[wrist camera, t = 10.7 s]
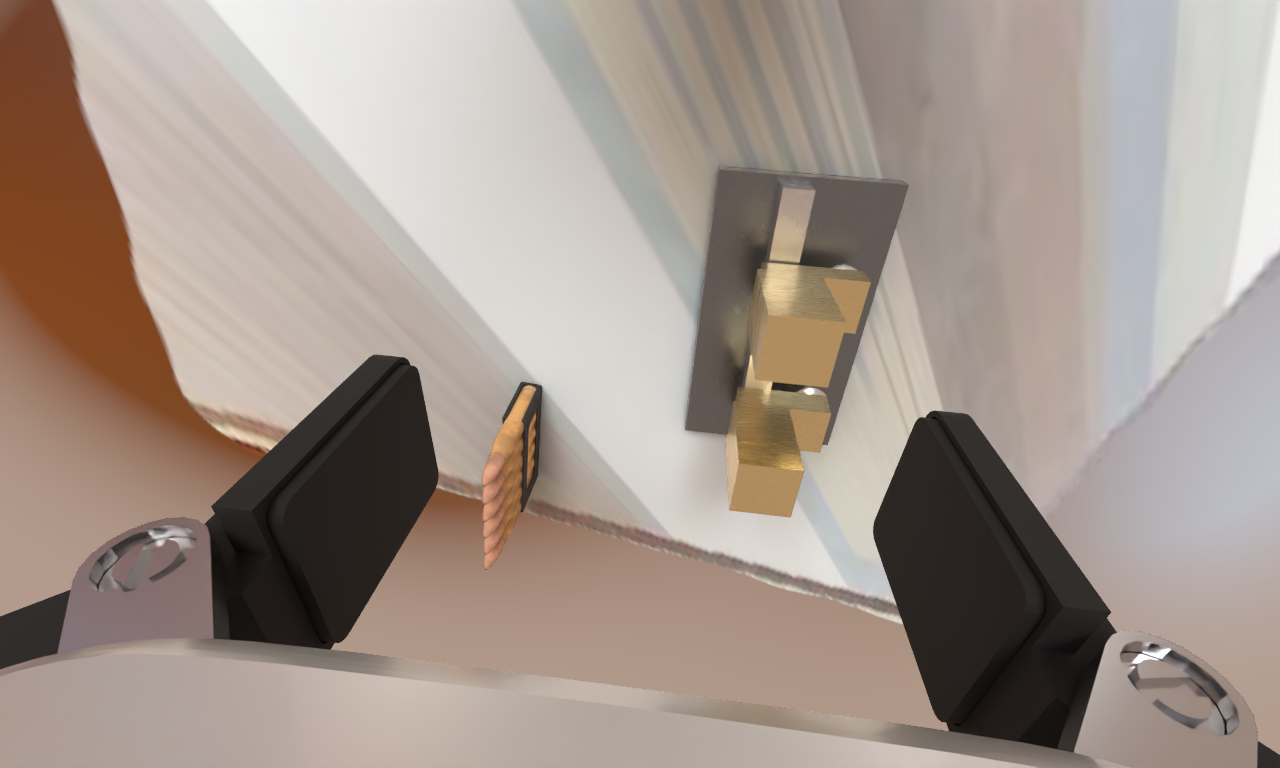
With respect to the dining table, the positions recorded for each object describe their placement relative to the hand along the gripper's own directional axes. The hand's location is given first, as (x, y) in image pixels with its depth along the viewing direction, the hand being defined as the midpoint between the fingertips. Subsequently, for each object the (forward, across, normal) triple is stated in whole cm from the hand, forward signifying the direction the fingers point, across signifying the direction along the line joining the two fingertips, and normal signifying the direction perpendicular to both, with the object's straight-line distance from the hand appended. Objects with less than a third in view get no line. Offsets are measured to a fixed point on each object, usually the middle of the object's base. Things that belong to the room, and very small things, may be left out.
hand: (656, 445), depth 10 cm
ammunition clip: (+30, +12, +24) cm, 40 cm away
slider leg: (+28, -8, +7) cm, 30 cm away
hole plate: (+30, -8, +11) cm, 33 cm away
